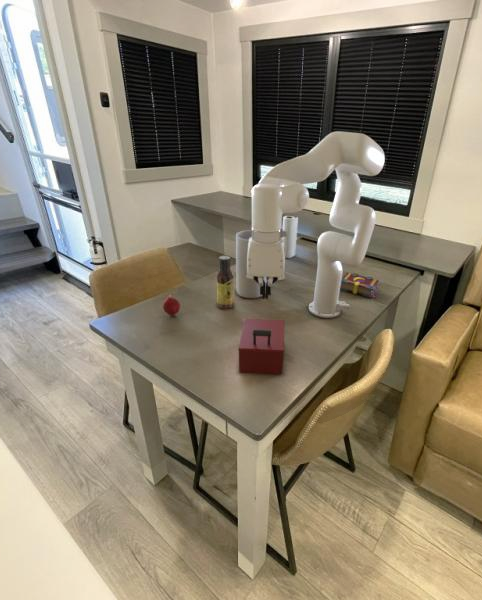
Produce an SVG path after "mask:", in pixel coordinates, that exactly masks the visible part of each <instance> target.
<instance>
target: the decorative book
mask: <svg viewBox="0 0 482 600" xmlns="http://www.w3.org/2000/svg"><path fill="white" fill-rule="evenodd" d="M378 286H379V279H376V278H373V277H371V276H363V275H360V274H358V273H355V272H353V273H351V272H346V273H345V275H343V276H342V280H341V286H340V291H345V292H349V293H352V294H356V295H357V294H359V295H362V296H363V297H368V298H371V299H372V298H374V299H375V298H376V296H375V293H378V291H377V289H378Z"/></svg>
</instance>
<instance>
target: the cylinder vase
mask: <svg viewBox="0 0 482 600" xmlns="http://www.w3.org/2000/svg"><path fill="white" fill-rule="evenodd" d="M250 237H252V229H248V230H241V231H238V232H236V233H235V266H236V267H235V276H236V278H235V279H236V280H235V281H236V282H235V283H236V286H235V287H236V293H237V294H238V296H240V297H242V298H245V299H259V298H262V295H260V286H259V284H258V283H257V282H256V281H255V280H254V279H249V278H247V277H246V274H247V252H248V243H249V238H250ZM263 278H264V281H265V283H267V281H268V277H263ZM265 294H266V284H265Z"/></svg>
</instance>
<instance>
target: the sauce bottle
mask: <svg viewBox="0 0 482 600" xmlns="http://www.w3.org/2000/svg"><path fill="white" fill-rule="evenodd" d="M218 261H219V270H218V271H217V273H216V301H217V306H218V307H219V308H220V309H230V308H232V307H233V306H234V299H235V298H234V297H235V296H234V295H235V294H234V290H235V289H234V276H233V272H232V270H231V257H230V256H228V255H220V256H219V258H218Z"/></svg>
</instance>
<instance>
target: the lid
mask: <svg viewBox="0 0 482 600" xmlns="http://www.w3.org/2000/svg"><path fill="white" fill-rule="evenodd" d="M237 349H238V352H239V351H262V352H284V353H285V320H284V319H275V318H272V319H271V318H252V317H243V323H242V329H241V333H240V338H239V344H238V347H237Z"/></svg>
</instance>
